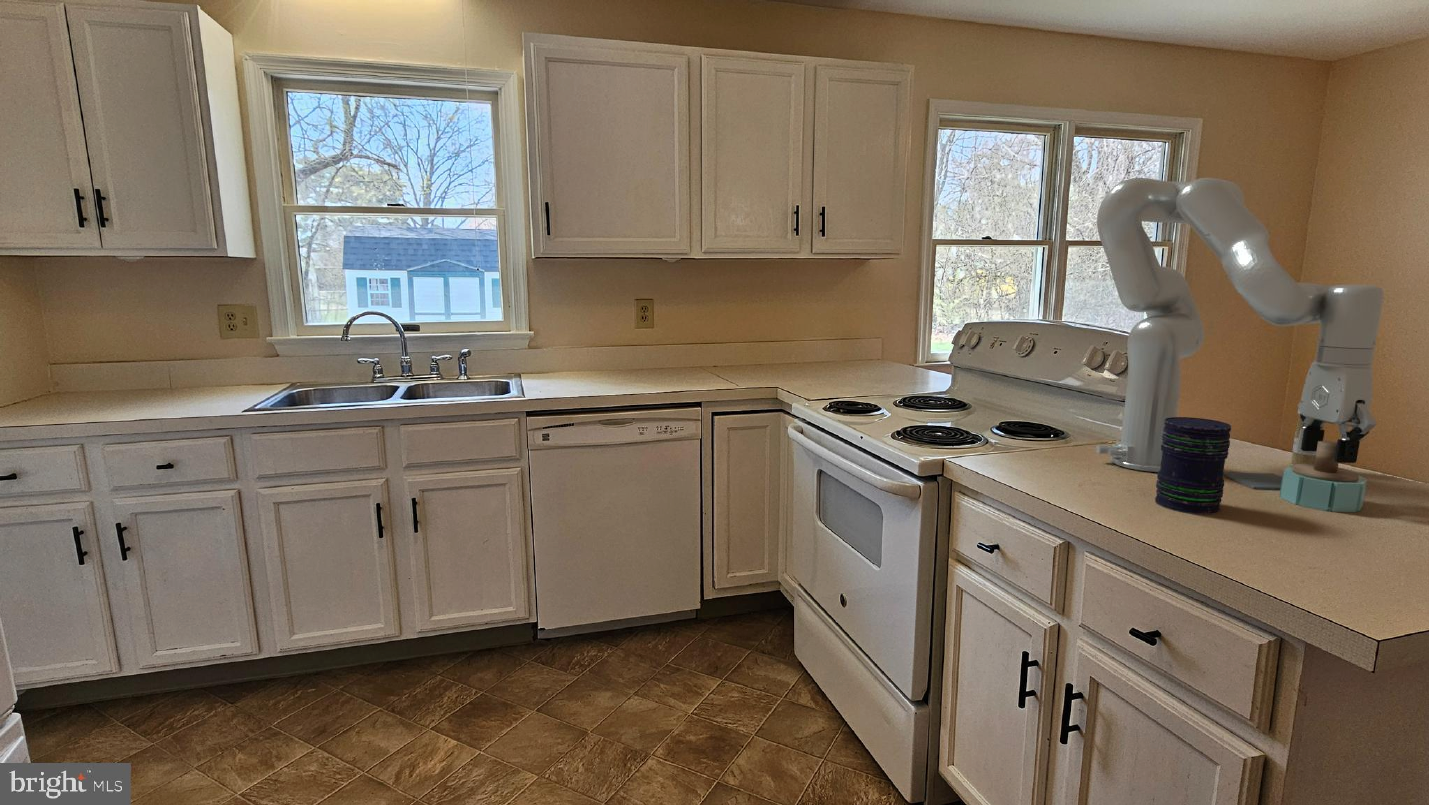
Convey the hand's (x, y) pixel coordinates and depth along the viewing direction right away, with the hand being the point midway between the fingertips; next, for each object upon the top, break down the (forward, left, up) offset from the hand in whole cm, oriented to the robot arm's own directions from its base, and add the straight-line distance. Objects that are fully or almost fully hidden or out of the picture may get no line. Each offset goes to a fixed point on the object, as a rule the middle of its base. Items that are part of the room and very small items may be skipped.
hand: (1327, 455), depth 127 cm
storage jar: (-25, -4, -9) cm, 27 cm away
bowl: (0, 0, -8) cm, 8 cm away
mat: (-2, +12, -8) cm, 15 cm away
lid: (0, 0, -3) cm, 3 cm away
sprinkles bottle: (+13, +23, -9) cm, 28 cm away
